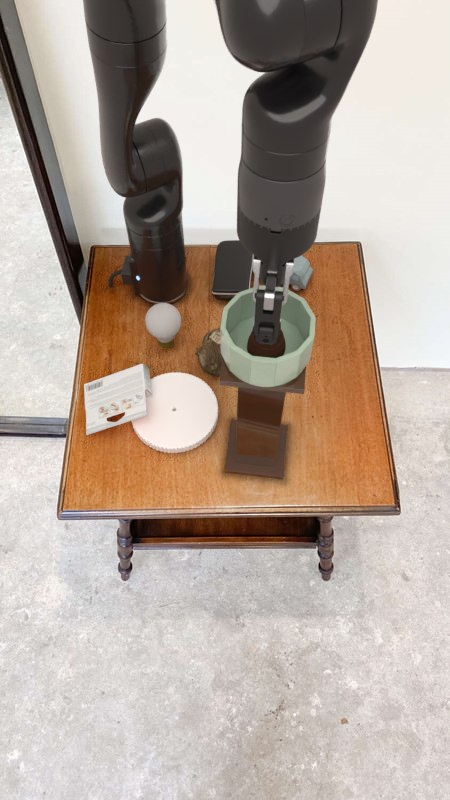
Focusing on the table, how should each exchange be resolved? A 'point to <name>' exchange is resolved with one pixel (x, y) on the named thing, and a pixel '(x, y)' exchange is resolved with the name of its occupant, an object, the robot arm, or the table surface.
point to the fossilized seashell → (211, 353)
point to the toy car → (300, 273)
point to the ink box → (117, 398)
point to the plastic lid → (177, 413)
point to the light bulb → (163, 323)
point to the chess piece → (266, 346)
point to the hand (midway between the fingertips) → (269, 309)
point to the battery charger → (231, 269)
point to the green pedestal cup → (262, 382)
